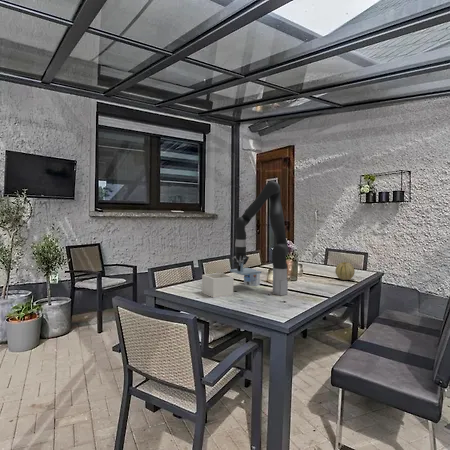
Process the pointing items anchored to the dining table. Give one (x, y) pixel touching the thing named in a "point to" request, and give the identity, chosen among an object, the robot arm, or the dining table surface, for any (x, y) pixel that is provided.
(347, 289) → the dining table surface
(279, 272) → the robot arm
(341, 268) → the cantaloupe
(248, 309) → the dining table surface
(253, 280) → the light bulb box
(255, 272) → the lid
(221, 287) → the tub
